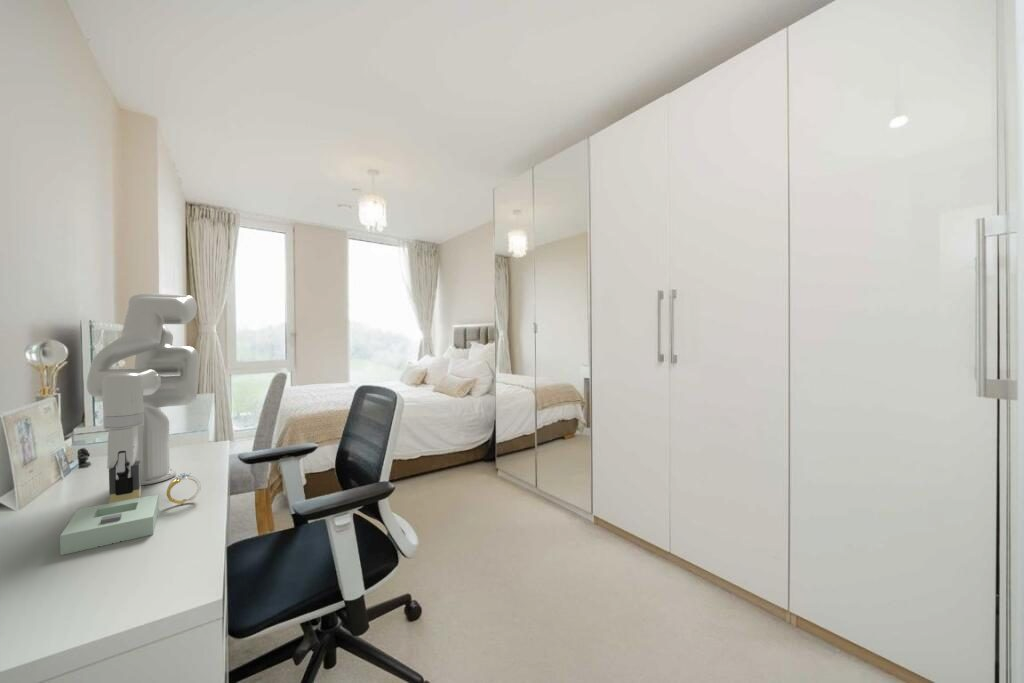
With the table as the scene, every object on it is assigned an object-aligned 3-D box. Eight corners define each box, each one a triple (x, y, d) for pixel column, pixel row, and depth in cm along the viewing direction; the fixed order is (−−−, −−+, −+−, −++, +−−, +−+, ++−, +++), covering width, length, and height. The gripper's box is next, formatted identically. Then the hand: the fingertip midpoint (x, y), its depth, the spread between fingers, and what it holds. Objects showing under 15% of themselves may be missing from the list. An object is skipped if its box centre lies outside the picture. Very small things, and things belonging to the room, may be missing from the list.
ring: (166, 509, 103) (165, 478, 103) (167, 504, 106) (167, 474, 106) (200, 502, 107) (200, 472, 107) (201, 498, 110) (200, 469, 110)
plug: (112, 498, 104) (111, 464, 104) (141, 493, 108) (140, 460, 107) (109, 504, 101) (108, 469, 101) (139, 498, 105) (138, 464, 104)
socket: (79, 525, 94) (78, 505, 94) (158, 509, 103) (158, 491, 102) (60, 555, 81) (60, 531, 81) (153, 534, 90) (152, 512, 90)
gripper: (109, 416, 108) (111, 483, 109) (96, 429, 95) (98, 506, 96) (147, 412, 113) (148, 477, 113) (140, 425, 99) (141, 498, 100)
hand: (125, 489), depth 104 cm, fingers closed on plug, 4 cm apart
